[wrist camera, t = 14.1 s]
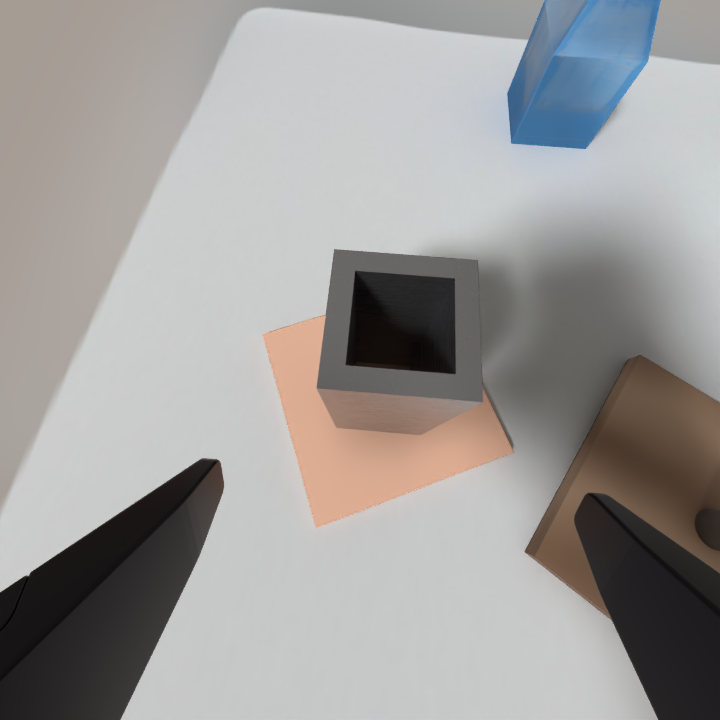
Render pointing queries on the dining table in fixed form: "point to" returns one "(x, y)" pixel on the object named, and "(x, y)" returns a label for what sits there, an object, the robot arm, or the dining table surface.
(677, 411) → the post base
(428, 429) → the steel sleeve
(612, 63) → the perfume bottle
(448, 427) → the rubber mat
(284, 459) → the dining table surface
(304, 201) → the dining table surface
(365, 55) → the dining table surface
